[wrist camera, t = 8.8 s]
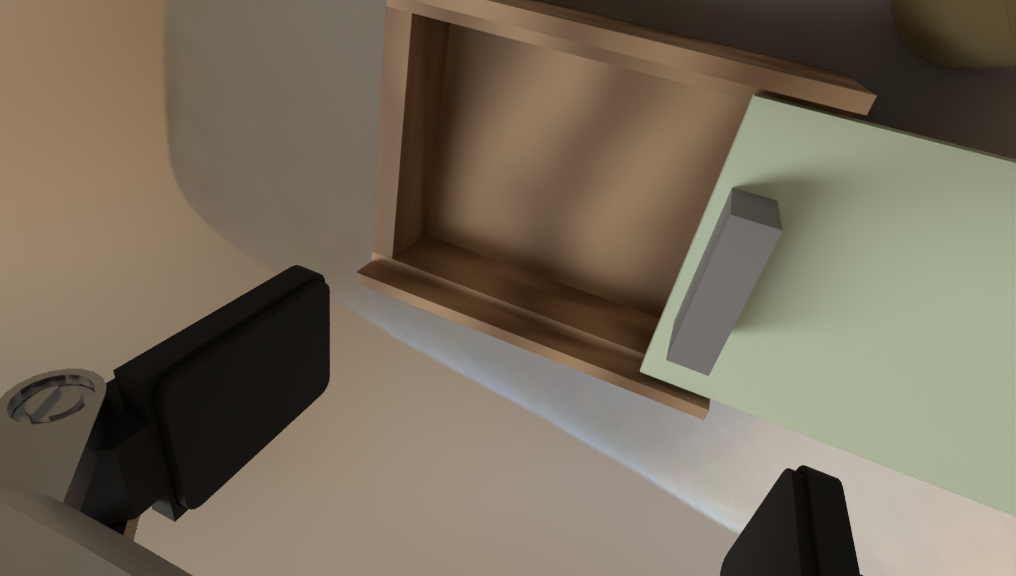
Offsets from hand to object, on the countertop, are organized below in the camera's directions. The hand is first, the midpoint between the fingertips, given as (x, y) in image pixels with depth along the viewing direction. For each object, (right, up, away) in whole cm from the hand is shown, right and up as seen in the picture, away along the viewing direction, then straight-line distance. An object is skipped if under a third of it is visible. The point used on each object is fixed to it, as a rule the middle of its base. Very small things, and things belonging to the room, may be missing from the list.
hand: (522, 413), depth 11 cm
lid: (+15, +1, +9) cm, 18 cm away
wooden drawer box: (+3, +8, +16) cm, 18 cm away
